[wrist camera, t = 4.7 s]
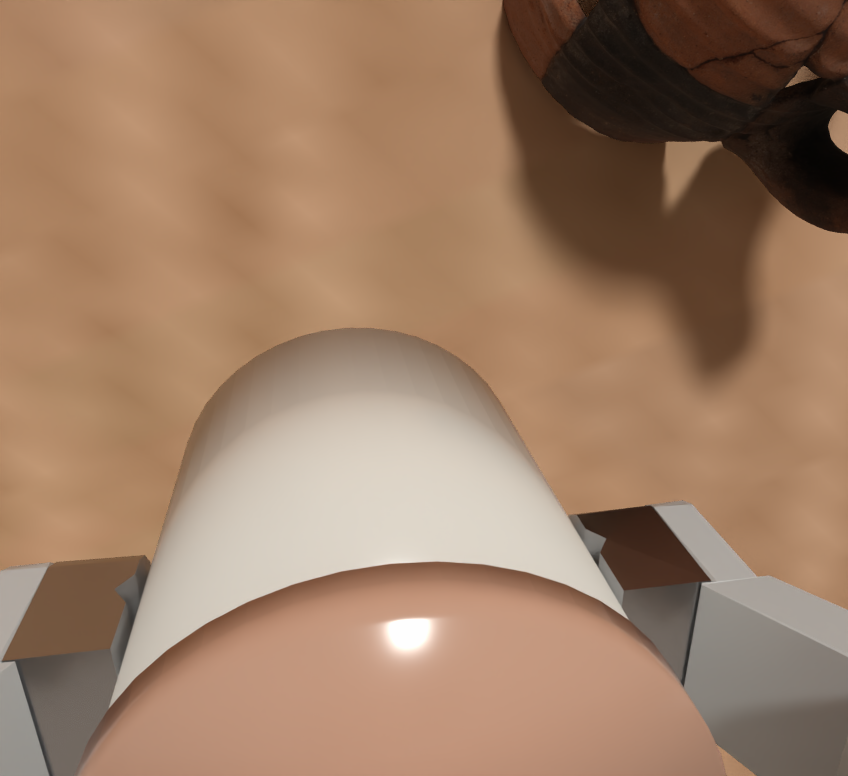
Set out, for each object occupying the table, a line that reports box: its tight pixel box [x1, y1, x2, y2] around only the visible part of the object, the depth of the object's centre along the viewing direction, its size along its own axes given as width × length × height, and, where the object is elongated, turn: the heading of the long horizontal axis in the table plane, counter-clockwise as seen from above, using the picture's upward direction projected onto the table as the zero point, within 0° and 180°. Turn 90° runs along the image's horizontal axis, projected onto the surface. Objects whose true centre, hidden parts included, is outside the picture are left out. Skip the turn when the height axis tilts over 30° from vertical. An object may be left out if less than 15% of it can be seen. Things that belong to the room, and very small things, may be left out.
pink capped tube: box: [74, 328, 726, 776], centre depth 8 cm, size 5×5×6 cm
